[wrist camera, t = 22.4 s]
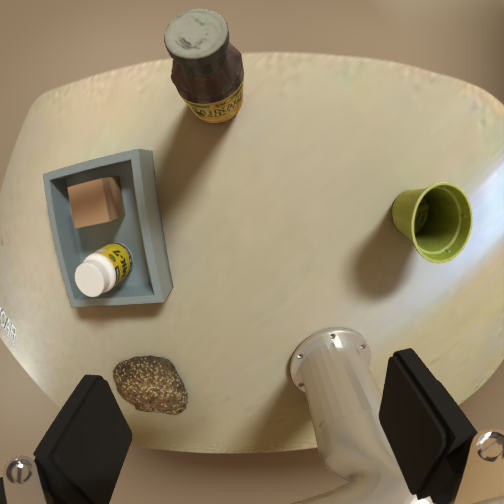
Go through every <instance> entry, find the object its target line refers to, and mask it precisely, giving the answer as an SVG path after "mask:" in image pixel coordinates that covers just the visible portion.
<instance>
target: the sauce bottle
mask: <svg viewBox="0 0 504 504" xmlns="http://www.w3.org/2000/svg"><path fill="white" fill-rule="evenodd" d="M164 42H165V46H166V48H167V50H168V52H169V54H170V56H171V57H172V58H173V59H174V60H173V68H172V75H171V79H172V81H173V83H174V84H175V86H176V88H177V91H178V92H179V94H180V96H181V97H182V98H183V100H184V101H185V102H186V104H187V105H188V106H189V108H190V109H191V110H192V112H193V113H194V114H195V115H196V116H197V117H198V118H199V119H201V120H203V121H205V122H209V123H221V122H226V121H227V120H229V119H231V118H232V117H233V116H235V115H236V114H237V112H238V111H239V109H240V107H241V105H242V101H243V81H244V70H243V63H242V56H241V53H240V52H239V51H238V50H237V49H236V48H235V47H234V46H233V45H232V44H231V43H229V31H228V26H227V23H226V22H225V20H224V19H223V17H221V16H220V15H219V14H218V13H215V12H212V11H210V10H206V9H193V10H189V11H187V12H185V13H182V14H180V15H178V16H177V17H176V18H174V19H173V20H172V21H171V22H170V23H169V25H168V27H167V29H166V32H165V35H164Z"/></svg>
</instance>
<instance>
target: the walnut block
mask: <svg viewBox="0 0 504 504" xmlns="http://www.w3.org/2000/svg"><path fill="white" fill-rule="evenodd" d="M68 194H69V200H70V206H71V211H72V216H73V222H74V226H75V228H80V227H85V226H90V225H95V224H100V223H105V222H110V221H112V220H114V219H117V218H119V217H121V216H124V215H126V213H125V208H124V202H123V196H122V190H121V184H120V177H119V176H117V177H108V178H101V179H97V180H93V181H89V182H85V183H82V184H78V185H74V186H71V187H68Z"/></svg>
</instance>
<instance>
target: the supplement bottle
mask: <svg viewBox="0 0 504 504" xmlns="http://www.w3.org/2000/svg"><path fill="white" fill-rule="evenodd" d="M132 267H133V256H132V253H131V251H130V250H129V249H128V247H127V246H125V245H124V244H122V243H119V242H113V243H110V244H108V245H106V246H104V247H103V248H101V249H99V250H97V251H96V252H94V253H92V254H90V255H89V256H88V257H86V258H85V260H84V261H83V263H82V264H81V265H79V266H78V267H77V269H76V272H75V281H76V284H77V286H78V288H79V289H80V291H81V292H82V293H84V294H85V295H87V296H90V297H96V296H98V295H100V294H101V293H104V292H107V291H109V290H111V289H112V288H113V287H114V286H115V285H116V284H117V283H119V282H120V281H121V280H122V279H123V278H124V277H125V276H126V275H128V274H129V272H130V271H131V270H132Z"/></svg>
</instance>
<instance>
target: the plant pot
mask: <svg viewBox="0 0 504 504" xmlns="http://www.w3.org/2000/svg"><path fill="white" fill-rule="evenodd" d="M423 215H424V219H423V222H422V223H421V224H420V221H421V219H422V217H423ZM392 217H393V221H394V225H395V226H396V228H397V229H398V230H399V231H400V232H402V233H403V234H404V235H405V236H406V237H408V238H409V239H410V240H411V241H412V242H413V244H414V246H415V248H416V250H417V251H418V253H419V254H420V255H421V256H422V257H423V258H425V259H426V260H428V261H430V262H433V263H445V262H448V261H450V260H452V259H453V258H455V257H456V256H457V255H458V254H459V253H460V252H461V251H462V250H463V249H464V247H465V245H466V244H467V241H468V239H469V237H470V234H471V229H472V209H471V205H470V202H469V200H468V197H467V196H466V194H465V193H464V192H463V190H462V189H461V188H459V187H458V186H457V185H455V184H452V183H449V182H438V183H434V184H432V185H430V186H429V187H427V188H426V189H416V190H407V191H405V192H403V193H401V194H400V195H399V196H398V197H397V198H396V200H395V201H394V204H393V207H392Z"/></svg>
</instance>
